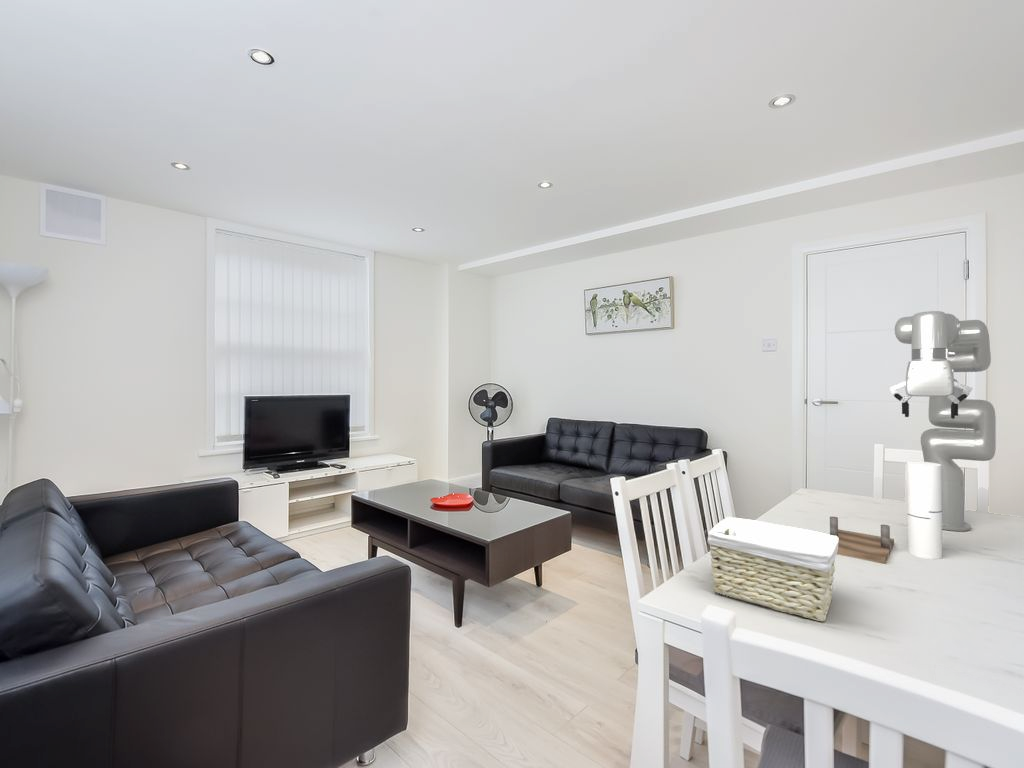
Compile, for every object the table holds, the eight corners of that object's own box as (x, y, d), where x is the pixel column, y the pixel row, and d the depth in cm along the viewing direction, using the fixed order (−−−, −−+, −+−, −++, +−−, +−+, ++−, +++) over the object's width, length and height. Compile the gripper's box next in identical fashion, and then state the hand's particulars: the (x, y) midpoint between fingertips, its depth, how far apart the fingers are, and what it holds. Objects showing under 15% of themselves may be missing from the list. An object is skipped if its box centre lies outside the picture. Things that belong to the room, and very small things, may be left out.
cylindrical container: (948, 560, 126) (948, 466, 126) (917, 558, 127) (917, 465, 127) (931, 550, 133) (930, 461, 133) (901, 549, 134) (901, 461, 134)
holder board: (836, 533, 148) (836, 509, 148) (894, 544, 139) (893, 518, 139) (822, 551, 134) (822, 524, 134) (885, 563, 124) (885, 535, 124)
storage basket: (841, 599, 105) (840, 533, 105) (832, 629, 93) (831, 554, 92) (726, 572, 120) (726, 514, 120) (705, 595, 108) (705, 531, 108)
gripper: (972, 355, 129) (972, 418, 129) (890, 358, 141) (891, 415, 141) (972, 354, 124) (972, 419, 123) (888, 356, 136) (888, 416, 135)
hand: (929, 417), depth 132 cm, fingers open, 9 cm apart
